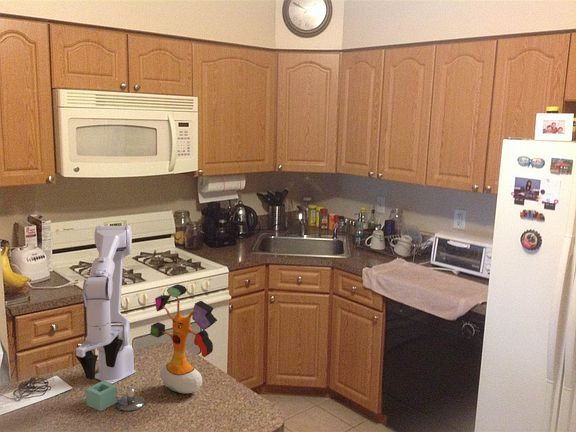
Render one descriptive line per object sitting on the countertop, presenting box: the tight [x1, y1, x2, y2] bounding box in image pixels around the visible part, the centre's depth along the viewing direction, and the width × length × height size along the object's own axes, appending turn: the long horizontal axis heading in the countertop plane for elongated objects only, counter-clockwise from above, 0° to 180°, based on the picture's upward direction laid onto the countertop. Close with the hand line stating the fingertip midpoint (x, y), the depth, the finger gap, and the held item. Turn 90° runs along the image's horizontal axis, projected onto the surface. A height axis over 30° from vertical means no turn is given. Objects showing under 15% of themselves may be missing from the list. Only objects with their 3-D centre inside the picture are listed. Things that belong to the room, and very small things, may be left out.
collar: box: [85, 380, 118, 412], centre depth 144 cm, size 5×5×4 cm
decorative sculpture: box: [149, 284, 218, 394], centre depth 150 cm, size 20×8×30 cm, turn 65°
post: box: [116, 386, 146, 413], centre depth 144 cm, size 7×7×4 cm
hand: (100, 372), depth 143 cm, fingers open, 7 cm apart
